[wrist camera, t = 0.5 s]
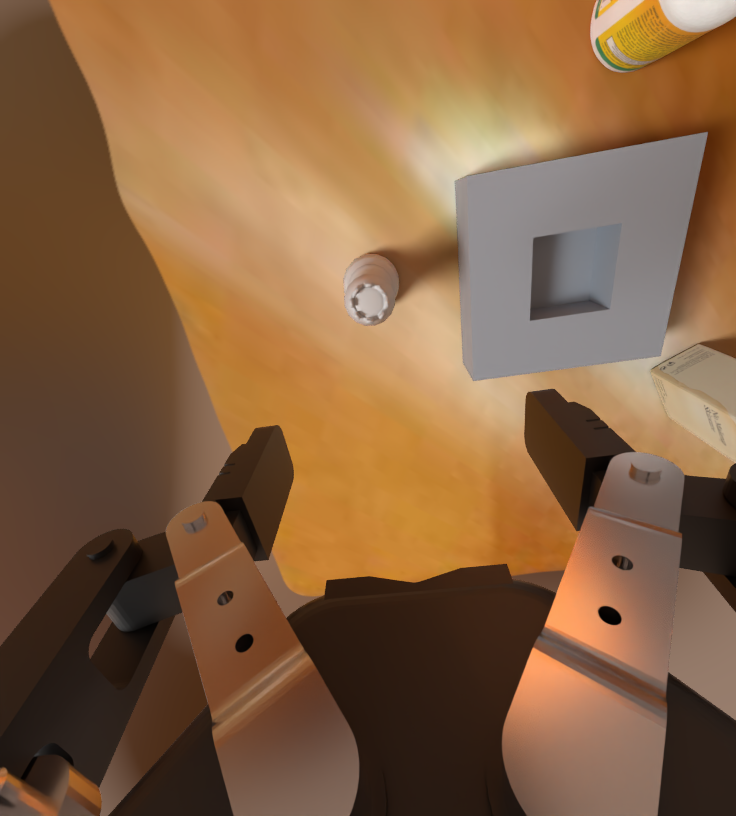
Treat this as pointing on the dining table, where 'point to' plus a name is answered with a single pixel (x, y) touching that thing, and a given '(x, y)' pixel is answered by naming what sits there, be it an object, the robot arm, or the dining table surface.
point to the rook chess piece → (370, 289)
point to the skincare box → (701, 395)
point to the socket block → (573, 257)
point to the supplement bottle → (651, 28)
